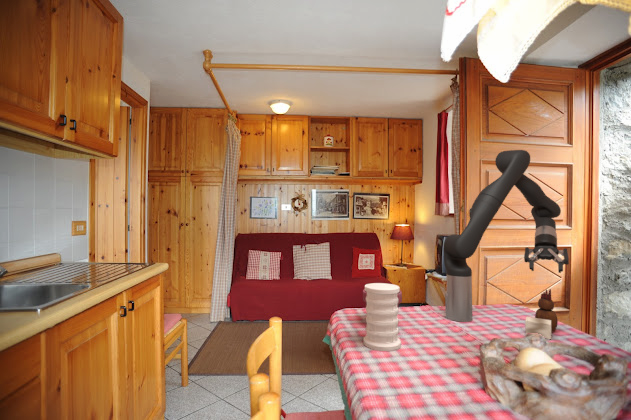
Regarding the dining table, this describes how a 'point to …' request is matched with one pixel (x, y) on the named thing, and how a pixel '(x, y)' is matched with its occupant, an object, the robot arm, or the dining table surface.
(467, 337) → the dining table surface
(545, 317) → the wooden figurine
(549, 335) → the limewashed block
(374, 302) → the decorative container
